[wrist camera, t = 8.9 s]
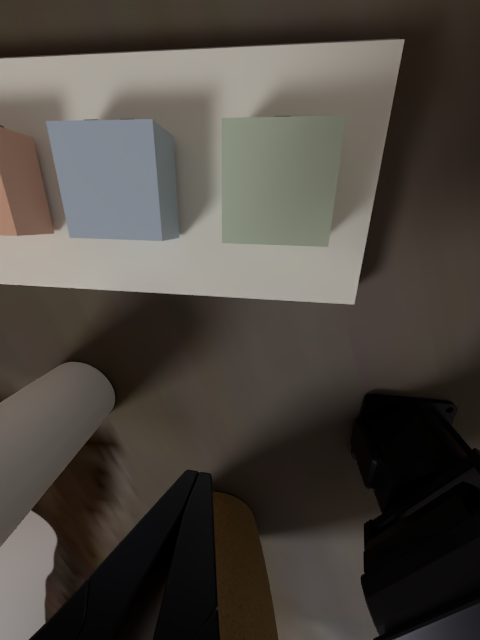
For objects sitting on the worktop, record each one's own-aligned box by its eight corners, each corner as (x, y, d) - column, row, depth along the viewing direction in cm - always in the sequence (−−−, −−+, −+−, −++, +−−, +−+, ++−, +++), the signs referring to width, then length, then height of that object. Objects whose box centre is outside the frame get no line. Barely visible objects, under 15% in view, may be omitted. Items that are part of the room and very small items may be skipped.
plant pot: (224, 440, 24) (142, 792, 9) (317, 533, 27) (368, 913, 12) (124, 496, 29) (-34, 787, 14) (213, 570, 32) (159, 875, 17)
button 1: (334, 127, 12) (347, 106, 10) (319, 242, 14) (328, 246, 12) (231, 128, 13) (221, 109, 11) (230, 239, 15) (221, 243, 13)
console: (384, 60, 13) (407, 26, 11) (344, 293, 18) (354, 304, 16) (-55, 77, 16) (-109, 54, 14) (5, 275, 21) (-29, 282, 18)
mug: (97, 351, 22) (-79, 481, 11) (131, 413, 24) (10, 575, 13) (9, 373, 25) (-212, 500, 13) (46, 428, 27) (-118, 579, 16)
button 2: (173, 129, 13) (151, 110, 11) (179, 237, 15) (162, 241, 13) (82, 130, 14) (44, 112, 12) (99, 235, 16) (69, 237, 14)
